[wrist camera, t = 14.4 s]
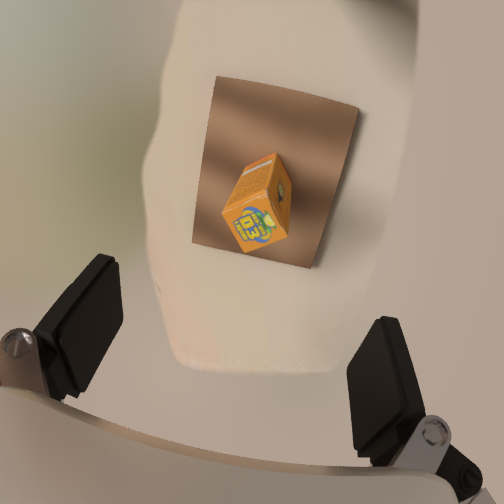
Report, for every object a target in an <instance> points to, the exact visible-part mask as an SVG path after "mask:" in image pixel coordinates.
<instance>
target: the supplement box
mask: <svg viewBox="0 0 504 504" xmlns="http://www.w3.org/2000/svg"><path fill="white" fill-rule="evenodd" d="M291 186H292V183H291V181H290V178H289V176H288V174H287V172H286V170H285V168H284V166H283V164H282V162H281V160H280V158H279V156H278V154H277V153H273V154H271V155H268V156H266V157H264V158H262V159H260V160H258V161H256V162H254V163H252V164H250V165H248V166H246V167H245V169H244V171H243V173H242V174H241V176H240V178H239V180H238V182H237V184H236V186H235V188H234V190H233V192H232V194H231V196H230V198H229V200H228V202H227V204H226V206H225V208H224V210H223V212H222V215H223V217H224V219H225V221H226V222H227V224H228V226H229V228H230V229H231V231H232V233H233V235H234V236H235V238H236V240H237V242H238V243H239V245H240V247H241V249H242V250H243V252H244V253H247V252H250V251H253V250H256V249H259V248H261V247H264V246H267V245H269V244H272V243H274V242H277V241H280V240H282V239H285V238H287V237H288V231H289V217H290V203H291Z"/></svg>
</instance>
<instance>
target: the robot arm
mask: <svg viewBox="0 0 504 504" xmlns="http://www.w3.org/2000/svg"><path fill="white" fill-rule="evenodd" d="M122 322H123V309H122V298H121V287H120V275H119V264H118V263H117V262H115V258H114V257H111V256H108V255H104V254H98V255H97V256H96V257H95V258H94V259H93V260H92V261H91V262H90V263H89V265H88V266H87V267H86V268H85V269H84V270H83V272H82V273H81V274H80V275H79V276H78V277H77V278H76V279H75V281H74V282H73V283H72V284H70V285H69V286H68V287H67V289H66V290H65V291H64V292H63V294H62V295H61V296H60V297H59V298H58V300H57V301H56V302H55V303H54V304H53V306H52V307H51V308H50V309H49V311H48V312H47V313H46V314H45V316H44V317H43V318H42V320H41V321H40V322H39V324H38V325H37V326H36V328H35V329H34V330H33V331H32V332H31V331H30V330H28V329H25V328H16V329H13V330H10V331H9V332H7V333H6V334H5V335H4V336H3V337H2V339H1V341H0V504H496V503H495V501H494V500H493V498H492V497H491V495H490V494H489V492H488V491H487V489H486V488H483V489H482V488H481V486H482V481H483V478H482V473H481V471H480V469H479V468H478V467H477V466H476V465H475V464H474V463H473V462H472V461H470V460H469V459H468V458H467V457H465V456H464V455H463V454H462V453H461V452H459V451H458V450H457V449H456V448H455V447H453V446H452V445H451V444H450V441H451V431H450V428H449V426H448V424H447V423H446V422H445V421H444V420H443V419H442V418H440V417H438V416H435V415H428V416H426V414H425V407H424V403H423V400H422V396H421V392H420V388H419V385H418V381H417V378H416V375H415V371H414V367H413V364H412V361H411V358H410V354H409V351H408V348H407V345H406V342H405V339H404V335H403V332H402V329H401V327H400V324H399V321H398V319H397V318H393V317H387V316H382V317H381V318H380V319H376V320H375V322H374V323H373V325H372V327H371V329H370V330H369V332H368V334H367V335H366V337H365V339H364V340H363V342H362V344H361V346H360V347H359V349H358V350H357V352H356V354H355V355H354V357H353V359H352V360H351V361H350V363H349V365H348V367H347V381H348V391H349V400H350V409H351V410H350V411H351V421H352V432H353V446H354V449H355V450H357V453H358V457H370V462H371V464H370V465H369V467H344V466H342V467H341V466H318V465H304V464H293V463H283V462H274V461H266V460H259V459H252V458H246V457H240V456H234V455H229V454H223V453H218V452H213V451H209V450H204V449H200V448H195V447H191V446H187V445H183V444H179V443H175V442H172V441H168V440H164V439H161V438H157V437H154V436H151V435H147V434H144V433H141V432H138V431H134V430H131V429H129V428H126V427H123V426H120V425H117V424H115V423H112V422H109V421H106V420H104V419H101V418H98V417H96V416H93V415H90V414H88V413H85V412H83V411H81V410H78V409H76V408H74V407H71V406H69V405H67V404H64V401H63V399H64V398H65V396H66V395H67V394H68V395H71V396H73V397H75V398H78V396H79V394H80V392H85V391H86V389H87V387H88V385H89V383H90V381H91V380H92V378H93V376H94V374H95V372H96V370H97V368H98V366H99V365H100V362H101V361H102V359H103V357H104V355H105V353H106V351H107V350H108V348H109V346H110V344H111V343H112V341H113V339H114V337H115V335H116V334H117V332H118V330H119V329H120V327H121V325H122Z"/></svg>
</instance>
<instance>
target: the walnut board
mask: <svg viewBox="0 0 504 504" xmlns="http://www.w3.org/2000/svg"><path fill="white" fill-rule="evenodd" d="M358 111H359V108H357V107H354V106H351V105H348V104H344V103H341V102H337V101H334V100H330V99H327V98H323V97H319V96H316V95H312V94H308V93H304V92H300V91H295V90H291V89H287V88H282V87H277V86H272V85H267V84H262V83H257V82H251V81H246V80H240V79H233V78H227V77H220V76H216V81H215V86H214V92H213V97H212V103H211V109H210V114H209V120H208V126H207V133H206V139H205V145H204V152H203V158H202V165H201V172H200V179H199V187H198V194H197V202H196V210H195V218H194V227H193V235H192V243H196V244H200V245H205V246H209V247H214V248H218V249H223V250H227V251H232V252H236V253H241V254H245V255H250V256H254V257H259V258H264V259H268V260H273V261H277V262H282V263H286V264H291V265H295V266H300V267H305V268H309V269H311V266H312V263H313V260H314V257H315V254H316V251H317V248H318V245H319V242H320V239H321V236H322V233H323V230H324V227H325V224H326V221H327V218H328V215H329V211H330V208H331V205H332V202H333V199H334V195H335V192H336V189H337V185H338V182H339V179H340V175H341V172H342V169H343V165H344V162H345V158H346V155H347V151H348V148H349V144H350V140H351V137H352V133H353V129H354V126H355V122H356V118H357V114H358ZM273 153H277V154H278V156H279V158H280V160H281V162H282V164H283V166H284V168H285V170H286V172H287V174H288V176H289V178H290V181H291V183H292V186H291V203H290V217H289V231H288V237H287V238H285V239H282V240H280V241H277V242H274V243H272V244H269V245H267V246H264V247H261V248H259V249H256V250H253V251H250V252H247V253H244V252H243V250H242V249H241V247H240V245H239V243H238V242H237V240H236V238H235V236H234V235H233V233H232V231H231V229H230V228H229V226H228V224H227V222H226V221H225V219H224V217H223V215H222V212H223V210H224V208H225V206H226V204H227V202H228V200H229V198H230V196H231V194H232V192H233V190H234V188H235V186H236V184H237V182H238V180H239V178H240V176H241V174H242V173H243V171H244V169H245V167H246V166H248V165H250V164H252V163H254V162H256V161H258V160H260V159H262V158H264V157H266V156H268V155H271V154H273Z"/></svg>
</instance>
